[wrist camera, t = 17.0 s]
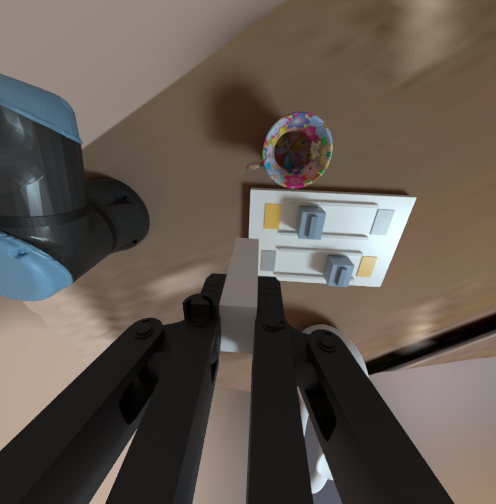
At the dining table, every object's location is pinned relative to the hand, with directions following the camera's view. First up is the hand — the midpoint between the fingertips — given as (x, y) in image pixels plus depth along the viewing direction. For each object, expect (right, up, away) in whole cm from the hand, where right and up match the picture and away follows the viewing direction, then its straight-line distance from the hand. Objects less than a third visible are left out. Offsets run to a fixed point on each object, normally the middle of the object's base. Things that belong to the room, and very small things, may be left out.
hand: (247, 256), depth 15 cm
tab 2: (+19, -3, +31) cm, 36 cm away
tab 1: (+12, +7, +27) cm, 30 cm away
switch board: (+15, +3, +31) cm, 34 cm away
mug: (+6, +18, +23) cm, 30 cm away
